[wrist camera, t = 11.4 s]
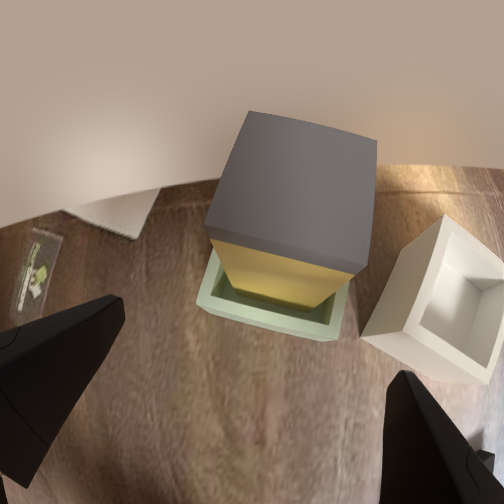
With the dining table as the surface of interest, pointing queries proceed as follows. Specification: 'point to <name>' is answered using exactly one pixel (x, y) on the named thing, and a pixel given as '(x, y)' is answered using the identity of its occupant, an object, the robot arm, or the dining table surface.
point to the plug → (293, 210)
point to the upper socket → (442, 307)
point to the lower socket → (270, 308)
